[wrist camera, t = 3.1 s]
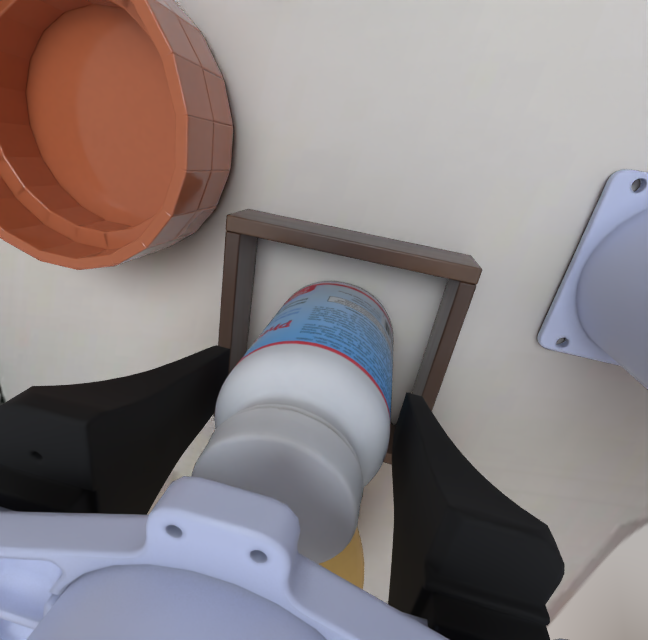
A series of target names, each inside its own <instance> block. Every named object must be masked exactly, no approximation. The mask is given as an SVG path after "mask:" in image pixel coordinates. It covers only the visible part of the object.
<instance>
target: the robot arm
mask: <svg viewBox="0 0 648 640" xmlns="http://www.w3.org/2000/svg"><path fill="white" fill-rule="evenodd" d="M637 179H639V180H640V182H641V185H640V187H639V189H638V190H636V191H634V192H633V191H632V189H631V185H632V183H633V182H634V181H635V180H637ZM564 337H565V341H564V342H563V343H561V344H556V342H557V340H558V339H560V338H564ZM537 339H538V342H539V343H540V345H541V346H542V347H543V348H546V349H549V350H554V351H558V352H562V353H567V354H571V355H575V356H580V357H584V358H589V359H593V360H597V361H602V362H606V363H610V364H615V365H619V366H622V367H623V368H624V369H625V370H626V371H627V372H628V373H630V374H631V375H632V376H633V377H634V378H635V379H636V380H637V381H639V382H640V383H641V384H642V385H643V386H644V387H645V388H646V389H647V390H648V173H647V172H642V171H636V170H619V171H616V172H615V173H614V174H612V175H611V176H610V178H609V179H608V181H607V183H606V185H605V187H604V190H603V192H602V194H601V196H600V198H599V201H598V203H597V205H596V207H595V210H594V212H593V214H592V216H591V218H590V221H589V223H588V225H587V227H586V229H585V232H584V234H583V236H582V238H581V241H580V243H579V245H578V247H577V249H576V252H575V254H574V256H573V258H572V260H571V263H570V265H569V267H568V269H567V272H566V274H565V276H564V278H563V280H562V283H561V285H560V287H559V289H558V291H557V294H556V296H555V298H554V300H553V303H552V305H551V307H550V309H549V311H548V314H547V316H546V318H545V320H544V322H543V325H542V327H541V329H540V331H539V334H538V337H537ZM229 359H230V349H229V348H224V347H220V346H213V347H210V348H207V349H205V350H202V351H200V352H198V353H195V354H193V355H190V356H188V357H185V358H183V359H180V360H178V361H175V362H172V363H169V364H167V365H164V366H161V367H158V368H155V369H152V370H149V371H145V372H142V373H138V374H134V375H130V376H126V377H121V378H115V379H110V380H105V381H99V382H91V383H83V384H73V385H56V386H32V387H30V388H29V389H27V390H25V391H24V392H22V393H20V394H19V395H17V396H15V397H14V398H12V399H10V400H9V401H7V402H5V403H4V404H2V405H1V406H0V640H550V637H549V634H548V631H547V628H546V625H548V624H549V623H550V617H549V614H548V612H547V609H546V606H545V604H546V603H547V601H548V600H549V598H550V597H551V595H552V594H553V593H554V591H555V590H556V588H557V587H558V585H559V584H560V582H561V580H562V578H563V575H564V562H563V560H562V557H561V555H560V552H559V550H558V547H557V544H556V542H555V540H554V538H553V536H552V534H551V531H550V529H549V528H548V525H546V524H545V523H543V522H542V521H540V520H539V519H537V518H536V517H534V516H533V515H531V514H530V513H528V512H527V511H525V510H524V509H522V508H521V507H520V506H518V505H517V504H516V503H514V502H513V501H512V500H510V499H509V498H508V497H507V496H505V495H504V494H503V493H502V492H500V491H499V490H498V489H497V488H496V487H495V486H493V485H492V484H491V483H490V482H489V481H488V480H487V479H486V478H485V477H484V476H483V475H481V474H480V473H479V472H478V471H477V470H476V469H475V468H474V467H473V466H472V464H471V463H470V462H469V461H468V460H467V459H466V458H465V457H464V456H463V455H462V453H461V452H460V451H459V450H458V449H457V447H456V446H455V445H454V443H453V442H452V441H451V440H450V438H449V437H448V436H447V434H446V433H445V431H444V430H443V428H442V427H441V425H440V424H439V422H438V421H437V419H436V418H435V416H434V415H433V413H432V411H431V410H430V408H429V406H428V405H427V403H426V401H425V400H424V398H423V396H419V395H415V394H411V393H406V396H405V399H404V402H403V406H402V409H401V412H400V415H399V418H398V422H397V425H396V428H395V431H394V435H393V446H392V477H393V497H394V532H393V549H392V564H391V577H390V589H389V601H388V604H387V603H385V602H383V601H382V600H380V599H378V598H376V597H375V596H373V595H371V594H369V593H368V592H366V591H364V590H362V589H361V588H359V587H357V586H355V585H354V584H352V583H350V582H349V581H347V580H345V579H343V578H342V577H340V576H338V575H336V574H335V573H333V572H331V571H329V570H328V569H326V568H324V567H322V566H321V565H319V564H317V563H315V562H314V561H312V560H310V559H308V558H307V557H305V556H303V555H301V554H300V553H298V550H297V548H298V540H299V535H300V525H299V519H298V517H297V516H296V515H295V514H294V512H293V511H292V510H291V509H290V508H289V506H288V505H287V504H285V503H283V502H281V501H279V500H277V499H275V498H273V497H269V496H266V495H262V494H258V493H255V492H251V491H248V490H244V489H241V488H237V487H234V486H230V485H227V484H223V483H220V482H216V481H212V480H209V479H205V478H202V477H189V476H183V477H181V478H179V479H177V480H175V481H173V482H172V483H171V484H170V486H169V487H168V488H167V490H166V491H165V493H164V494H163V495H162V497H161V498H160V500H159V501H158V502H157V504H156V505H155V507H154V508H153V509H152V511H151V512H150V514H149V515H147V513H148V511H149V509H150V508H151V506H152V504H153V502H154V500H155V499H156V497H157V495H158V493H159V492H160V490H161V488H162V487H163V485H164V483H165V481H166V480H167V478H168V476H169V475H170V473H171V472H172V470H173V468H174V467H175V465H176V463H177V462H178V460H179V459H180V457H181V456H182V454H183V453H184V452H185V450H186V449H187V448H188V446H189V445H190V444H191V442H192V441H193V440H194V439H195V437H196V436H197V435H198V433H199V432H200V431H201V430H202V428H203V427H204V426H205V424H206V423H207V422H208V420H209V419H210V418H211V416H212V415H213V414H214V412H215V407H216V402H217V398H218V395H219V392H220V390H221V387H222V385H223V383H224V382H225V380H226V378H227V377H228V371H229ZM555 640H568V639H555Z"/></svg>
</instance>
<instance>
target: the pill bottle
mask: <svg viewBox="0 0 648 640" xmlns="http://www.w3.org/2000/svg"><path fill="white" fill-rule="evenodd" d="M392 367H393V330H392V325H391V322H390V319H389V317H388V314H387V312H386V311H385V309H384V308H383V306H382V305H381V304H380V303H379V301H378V300H377V299H376V298H375V297H373V296H372V295H371V294H369V293H368V292H366V291H365V290H363V289H361V288H359V287H356V286H354V285H350V284H346V283H342V282H335V281H324V282H317V283H313V284H310V285H308V286H305V287H303V288H302V289H300V290H298V291H297V292H296V293H294V294H293V295H292V296H291V297H290V298H289V299H288V301H287V302H286V303H285V304H284V305H283V307H282V308H281V309H280V310H279V312H278V313H277V314H276V315H275V317H274V318H273V319H272V320H271V322H270V323H269V324H268V326H267V327H266V328H265V329H264V331H263V332H262V333H261V334H260V336H259V337H258V338H257V340H256V341H255V342H254V343H253V344H252V346H251V347H250V348H249V350H248V351H247V352H246V353H245V355H244V356H243V357H242V358H241V360H240V361H239V362H238V363H237V365H236V366H235V367H234V368H233V370H232V371H231V373H230V374H229V375H228V377H227V378H226V380H225V382H224V383H223V385H222V387H221V390H220V392H219V395H218V398H217V402H216V407H215V428H216V430H215V431H214V433H213V434H212V436H211V438H210V440H209V442H208V444H207V446H206V447H205V449H204V450H203V452H202V453H201V455H200V457H199V458H198V460H197V462H196V464H195V466H194V469H193V472H192V477H202V478H205V479H209V480H212V481H216V482H220V483H223V484H227V485H230V486H234V487H237V488H241V489H244V490H248V491H251V492H255V493H258V494H262V495H266V496H269V497H273V498H275V499H277V500H279V501H281V502H283V503H285V504H287V505H288V506H289V508H290V509H291V510H292V511H293V512H294V514H295V515H296V516H297V517H298V519H299V525H300V535H299V540H298V548H297V550H298V553H300V554H301V555H303V556H305V557H307V558H308V559H310V560H312V561H314V562H315V563H317V564H320V563H322V562H325V561H327V560H330V559H332V558H333V557H335V556H336V555H338V554H339V553H340V552H342V551H343V550H344V549H345V547H346V546H347V545H348V544H349V543H350V541H351V540H352V538H353V535H354V533H355V530H356V527H357V523H358V518H359V511H360V503H361V500H362V497H363V487H364V486H366V485H367V484H368V483H369V482H370V481H371V480H372V478H373V477H374V476H375V475H376V473H377V472H378V470H379V469H380V467H381V465H382V463H383V461H384V459H385V456H386V453H387V449H388V444H389V437H390V421H391V396H392Z"/></svg>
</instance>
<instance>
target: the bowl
mask: <svg viewBox="0 0 648 640" xmlns="http://www.w3.org/2000/svg"><path fill="white" fill-rule="evenodd" d="M222 78H223V76H222V74H221V72H220V69H219V67H218V65H217V63H216V61H215V59H214V57H213V55H212V53H211V51H210V49H209V47H208V45H207V43H206V41H205V39H204V37H203V35H202V33H201V31H200V30H199V28H198V27H197V26H196V25H195V24H194V23H193V22H192V21H191V19H190V18H189V17H188V16H187V15H186V14H185V13H184V11H183V10H182V9H181V8H180V7H179V6H178V5H177V4H176V2H175V1H174V0H0V238H1V239H3V240H4V241H5V242H7V243H9V244H11V245H13V246H14V247H16V248H18V249H20V250H22V251H23V252H25V253H27V254H29V255H30V256H32V257H34V258H36V259H38V260H40V261H43V262H47V263H51V264H55V265H59V266H64V267H68V268H72V269H76V270H84V269H93V268H102V267H111V266H116V265H119V264H122V263H125V262H128V261H131V260H133V259H136V258H139V257H142V256H145V255H148V254H150V253H153V252H156V251H159V250H162V249H165V248H167V247H169V246H171V245H173V244H175V243H177V242H179V241H181V240H183V239H184V238H186V237H188V236H190V235H192V234H194V232H196V231H197V230H198V228H199V227H200V226H201V225H202V224H203V223H204V221H205V220H206V219H207V218H208V217H209V215H210V214H211V213H212V212H213V211H214V210H215V208H216V206H217V204H218V202H219V199H220V196H221V194H222V191H223V188H224V186H225V183H226V180H227V178H228V175H229V173H230V171H229V170H230V169H231V155H232V140H233V122H232V117H231V112H230V107H229V102H228V97H227V92H226V87H225V82H224V79H222Z"/></svg>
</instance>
